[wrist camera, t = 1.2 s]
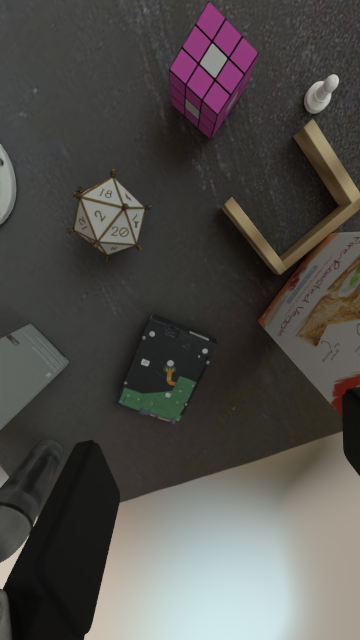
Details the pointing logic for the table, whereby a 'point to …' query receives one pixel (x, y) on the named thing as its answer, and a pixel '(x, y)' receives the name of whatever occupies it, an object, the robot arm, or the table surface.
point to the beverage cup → (26, 495)
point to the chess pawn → (320, 94)
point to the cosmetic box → (25, 369)
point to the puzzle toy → (210, 71)
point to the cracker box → (322, 316)
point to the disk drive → (166, 369)
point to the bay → (348, 205)
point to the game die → (108, 216)
